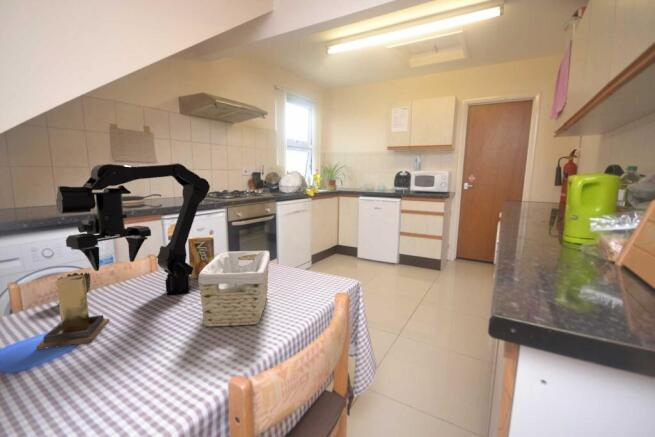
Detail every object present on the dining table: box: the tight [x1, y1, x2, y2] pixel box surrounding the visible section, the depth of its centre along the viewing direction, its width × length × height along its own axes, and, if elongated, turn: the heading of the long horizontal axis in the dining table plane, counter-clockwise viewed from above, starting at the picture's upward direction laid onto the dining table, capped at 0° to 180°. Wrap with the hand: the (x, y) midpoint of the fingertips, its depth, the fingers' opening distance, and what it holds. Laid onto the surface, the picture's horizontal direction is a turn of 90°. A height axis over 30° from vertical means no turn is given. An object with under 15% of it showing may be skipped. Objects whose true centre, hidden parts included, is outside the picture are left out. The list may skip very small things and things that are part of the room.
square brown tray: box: [36, 314, 110, 350], centre depth 68 cm, size 10×10×2 cm
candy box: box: [187, 235, 215, 279], centre depth 109 cm, size 9×4×15 cm, turn 116°
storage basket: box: [197, 250, 271, 327], centre depth 82 cm, size 24×16×15 cm
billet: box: [56, 274, 90, 333], centre depth 67 cm, size 5×5×13 cm
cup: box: [57, 272, 91, 294], centre depth 85 cm, size 8×7×8 cm
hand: (115, 265), depth 79 cm, fingers open, 9 cm apart
